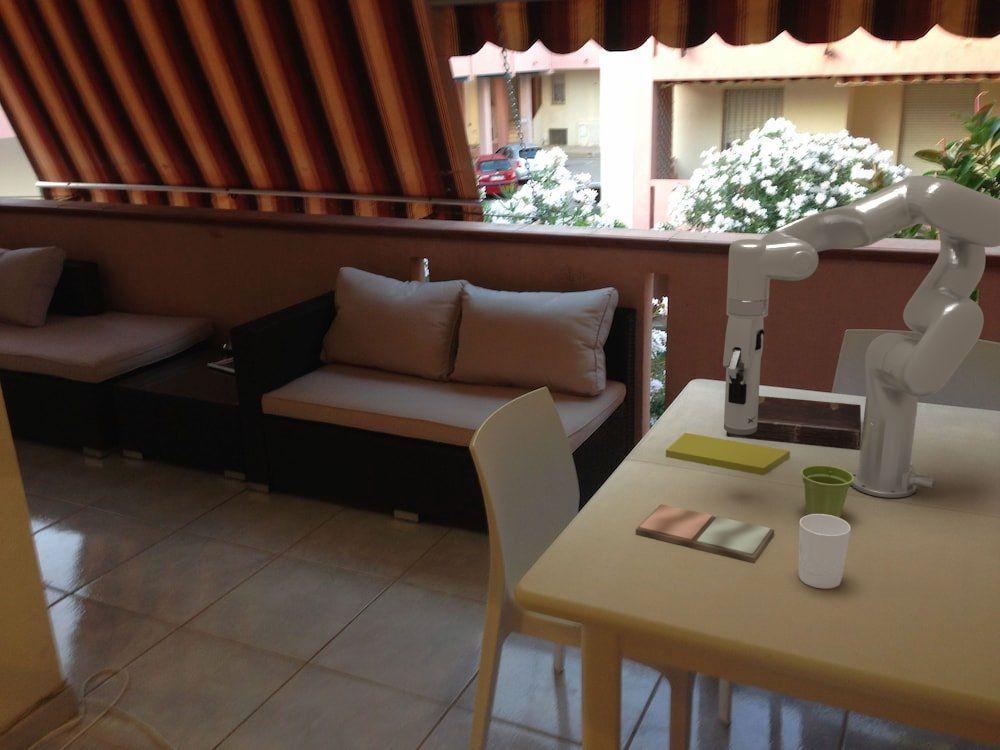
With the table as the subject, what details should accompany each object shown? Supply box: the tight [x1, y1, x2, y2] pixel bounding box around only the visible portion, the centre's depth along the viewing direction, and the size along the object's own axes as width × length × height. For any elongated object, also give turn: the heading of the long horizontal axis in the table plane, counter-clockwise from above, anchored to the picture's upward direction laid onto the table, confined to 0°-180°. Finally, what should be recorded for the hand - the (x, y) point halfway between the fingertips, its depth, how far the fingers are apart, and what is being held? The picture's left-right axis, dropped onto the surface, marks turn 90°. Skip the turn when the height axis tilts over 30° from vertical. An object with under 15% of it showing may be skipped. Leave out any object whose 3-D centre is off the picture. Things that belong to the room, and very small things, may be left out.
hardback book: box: [726, 395, 862, 451], centre depth 220 cm, size 29×19×5 cm, turn 70°
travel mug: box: [723, 329, 765, 435], centre depth 178 cm, size 6×7×20 cm
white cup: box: [798, 514, 852, 590], centre depth 153 cm, size 8×8×10 cm
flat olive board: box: [665, 432, 791, 476], centre depth 205 cm, size 12×2×24 cm
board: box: [635, 504, 775, 564], centre depth 170 cm, size 22×12×1 cm, turn 59°
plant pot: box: [800, 464, 854, 518], centre depth 175 cm, size 9×9×9 cm
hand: (742, 397), depth 179 cm, fingers closed on travel mug, 6 cm apart
